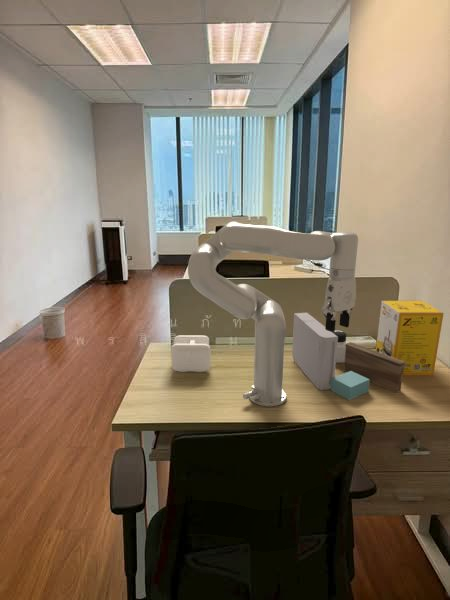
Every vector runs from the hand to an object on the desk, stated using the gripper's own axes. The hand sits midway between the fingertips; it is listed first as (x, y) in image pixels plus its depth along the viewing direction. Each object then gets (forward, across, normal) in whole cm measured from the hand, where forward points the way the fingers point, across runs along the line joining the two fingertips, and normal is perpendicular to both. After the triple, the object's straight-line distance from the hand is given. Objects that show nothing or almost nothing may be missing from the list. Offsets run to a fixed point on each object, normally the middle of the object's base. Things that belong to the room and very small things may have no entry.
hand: (337, 328), depth 123 cm
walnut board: (+26, +23, 0) cm, 35 cm away
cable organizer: (+26, -24, +49) cm, 60 cm away
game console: (+26, +10, +17) cm, 33 cm away
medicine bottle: (+26, +28, +19) cm, 43 cm away
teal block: (+26, +10, 0) cm, 28 cm away
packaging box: (+26, +44, -1) cm, 51 cm away
